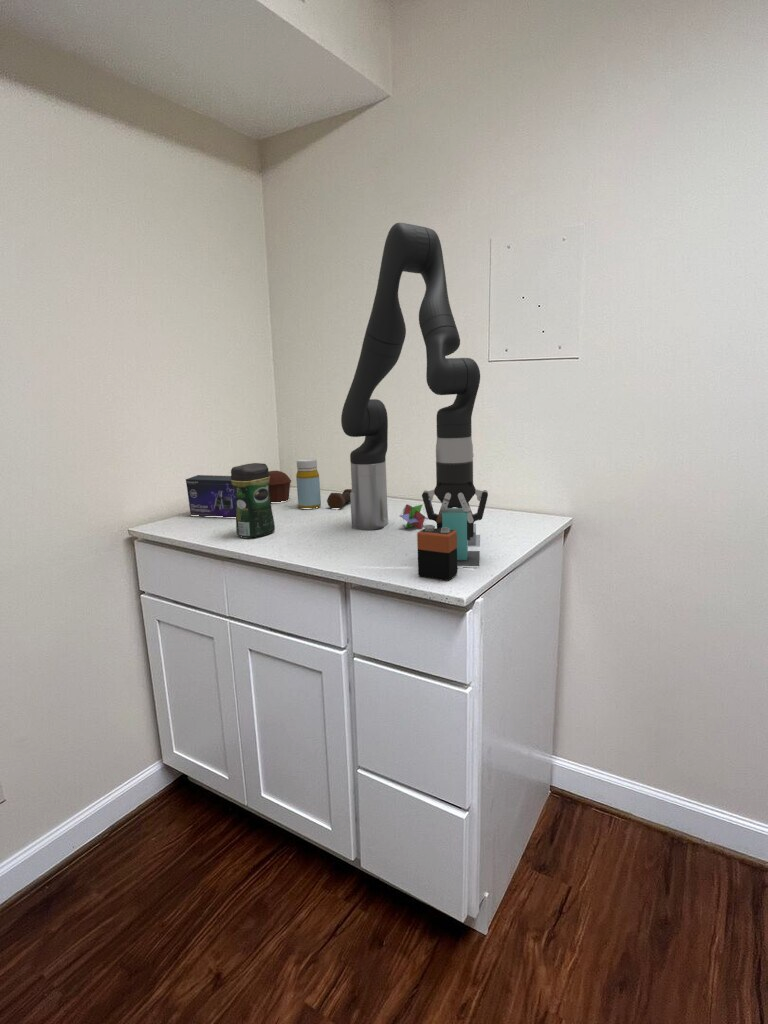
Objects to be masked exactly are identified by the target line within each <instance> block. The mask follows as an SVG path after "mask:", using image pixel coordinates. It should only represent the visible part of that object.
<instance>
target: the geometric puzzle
mask: <svg viewBox="0 0 768 1024" xmlns="http://www.w3.org/2000/svg"><path fill="white" fill-rule="evenodd" d="M422 508H423V511H424V514H422V513H421V511H422ZM425 514H427V513H426V511H425V506H424V503H423V504H415V506H412V505H411V504H407V503H406V504H405V506H404V507H403V509H402V511H401V513H400V515H399V518H400V520H402V521H403V522H405V521H406V522H407V523H406V527H405V524H402V525H403V527H405V529H409V528H412V527H415V528H417V529H419V530H423V527H424V526H425V524H426V523H425V521H428V520H429V519H428V516H426V515H425ZM401 518H402V519H401Z"/></svg>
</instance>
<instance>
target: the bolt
mask: <svg viewBox="0 0 768 1024" xmlns="http://www.w3.org/2000/svg"><path fill="white" fill-rule="evenodd" d="M351 492H352V488H345V489H344V490H343V491H342V493H341V492H331V493H330V494H329V495H328V498H327V499H326V503H327V505H328V507H329V508H330V509H331V508H342V509H343V507H344V505H345V504H348V503H347V502H351V501H350V493H351Z"/></svg>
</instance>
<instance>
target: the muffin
mask: <svg viewBox="0 0 768 1024" xmlns="http://www.w3.org/2000/svg"><path fill="white" fill-rule="evenodd" d="M268 471H269V475H270V481H269V496H270V502H281V501H286V500H288V499H289V500H290V490H291V489H290V488H291V483H292V480H291V478H290V477H289V476H288V474H286V473H285V472H283V471H281V470H268ZM286 502H287V501H286Z"/></svg>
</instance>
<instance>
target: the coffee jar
mask: <svg viewBox="0 0 768 1024" xmlns="http://www.w3.org/2000/svg"><path fill="white" fill-rule="evenodd" d="M269 471H270V470H269V468H268V465H267V464H266V463H260V462H253V463H246V464H241V465H236V466H232V467H231V469H230V476H231V482H232V485H233V487H234V490H235V497H236V519H235V528H236V535H237V536H239V537H240V536H242V537H241V538H243V537H249V538H251V537H255V538H258V537H257V536H260V537H263V536H266V535H269V534H271V532H272V533H274V532H275V530H276V525H275V519H274V514H273V509H272V504H271V502H270V496H269V481H270V475H269ZM265 534H266V535H265ZM262 535H263V536H262Z"/></svg>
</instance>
